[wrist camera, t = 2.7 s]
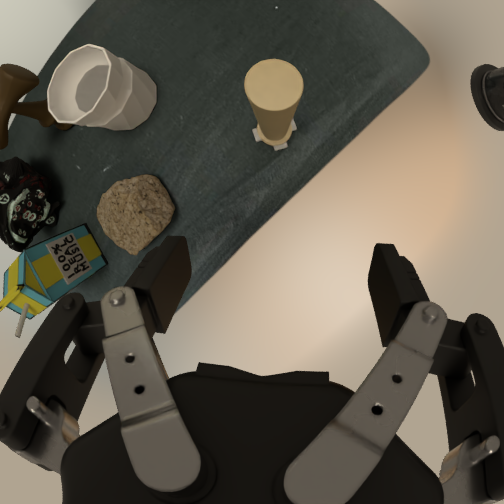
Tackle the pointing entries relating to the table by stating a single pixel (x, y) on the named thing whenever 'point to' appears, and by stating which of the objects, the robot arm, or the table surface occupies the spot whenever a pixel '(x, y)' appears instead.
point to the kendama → (6, 102)
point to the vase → (100, 90)
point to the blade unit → (274, 100)
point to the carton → (50, 272)
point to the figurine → (23, 203)
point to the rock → (135, 212)
